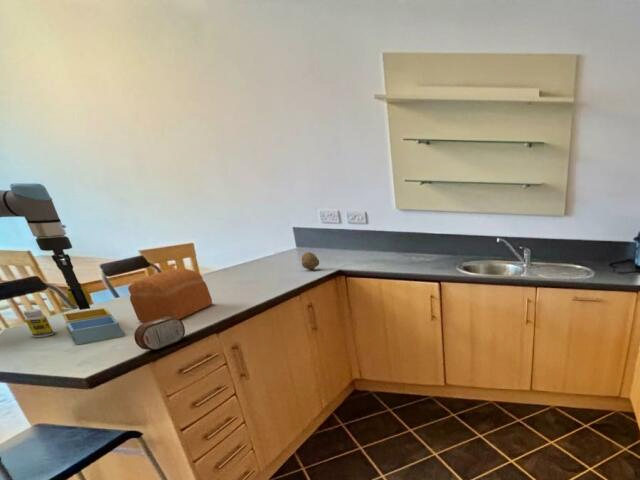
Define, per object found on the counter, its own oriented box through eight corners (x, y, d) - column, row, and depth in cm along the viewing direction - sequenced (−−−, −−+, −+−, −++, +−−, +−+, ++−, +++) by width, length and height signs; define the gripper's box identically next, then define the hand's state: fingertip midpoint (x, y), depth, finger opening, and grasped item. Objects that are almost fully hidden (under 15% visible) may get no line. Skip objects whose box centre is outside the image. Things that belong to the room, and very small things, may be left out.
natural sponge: (323, 269, 242) (320, 251, 238) (315, 272, 234) (312, 253, 230) (308, 268, 243) (305, 250, 238) (300, 271, 235) (296, 253, 230)
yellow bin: (68, 326, 146) (62, 314, 144) (110, 319, 153) (105, 307, 151) (72, 334, 139) (65, 321, 137) (116, 326, 147) (111, 314, 145)
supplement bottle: (37, 338, 135) (24, 313, 132) (31, 336, 137) (18, 311, 133) (57, 334, 139) (44, 309, 135) (50, 331, 141) (38, 307, 137)
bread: (216, 303, 174) (205, 265, 167) (174, 323, 151) (158, 280, 144) (183, 303, 174) (169, 265, 166) (134, 323, 150) (117, 279, 143)
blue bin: (73, 336, 138) (66, 322, 136) (117, 328, 145) (112, 315, 143) (77, 344, 131) (70, 330, 129) (124, 335, 139) (118, 322, 137)
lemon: (92, 308, 142) (82, 285, 139) (70, 310, 140) (59, 287, 136) (96, 304, 147) (86, 282, 143) (76, 306, 144) (65, 283, 140)
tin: (182, 337, 139) (173, 312, 135) (190, 337, 138) (182, 313, 134) (139, 354, 125) (128, 327, 122) (148, 354, 125) (137, 328, 121)
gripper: (70, 238, 130) (102, 310, 140) (64, 233, 141) (94, 300, 151) (36, 240, 125) (72, 315, 135) (32, 234, 136) (65, 304, 146)
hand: (83, 307), depth 143 cm, fingers closed on lemon, 5 cm apart
